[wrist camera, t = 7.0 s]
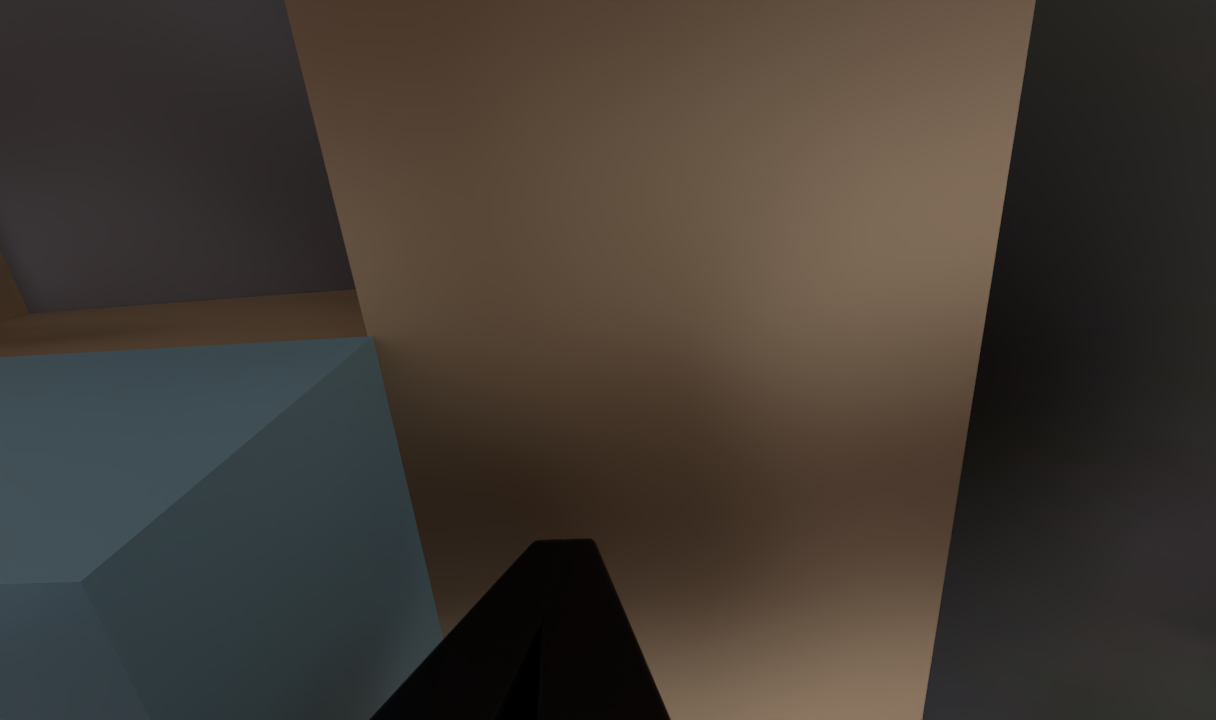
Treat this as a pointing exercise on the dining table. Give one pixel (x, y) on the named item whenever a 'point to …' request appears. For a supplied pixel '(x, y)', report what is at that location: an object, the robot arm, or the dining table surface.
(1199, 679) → the dining table surface
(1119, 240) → the dining table surface
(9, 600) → the teal block
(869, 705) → the trap deck
